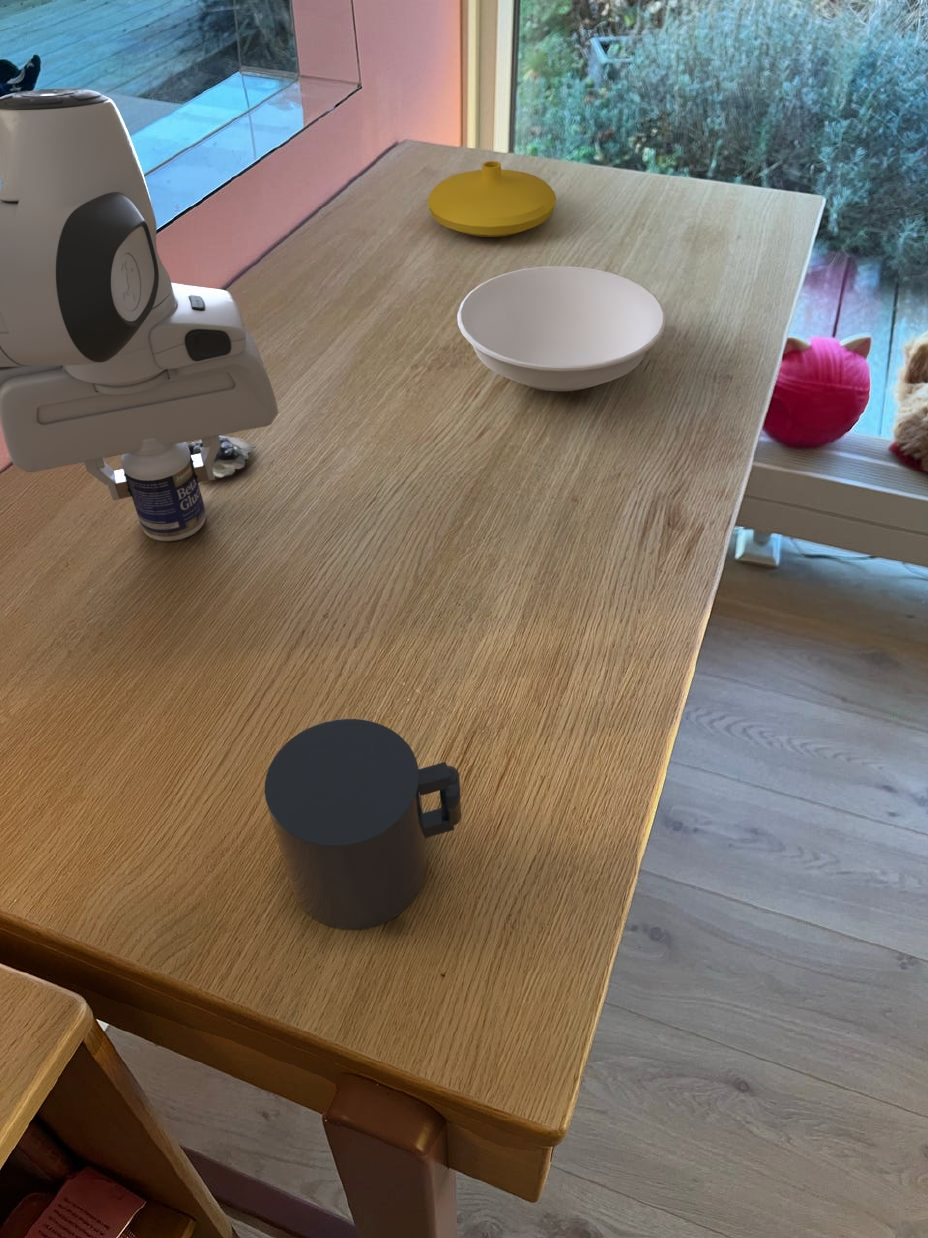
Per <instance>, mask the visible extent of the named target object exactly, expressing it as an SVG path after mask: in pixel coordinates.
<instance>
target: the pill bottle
mask: <svg viewBox="0 0 928 1238" xmlns="http://www.w3.org/2000/svg"><path fill="white" fill-rule="evenodd" d="M142 442H143V446H142V448H141V450H140V451H138V452H133V453H128V454H123V455H121V457H120V459H121V460H120V463H121V467H122V469H123V471H124V474H125V477H126V480H127V483H128V486H129V489H130V492H131V495H132V497H131V499H132V501H133V505H134V508H135V511H136V515H137V518H138V521H139V524H140V526H141V528H142V531H143V532H144V534H145V535H146V536H148V537H149V538H151V539H153V540H155V541H160V542H173V541H180V540H183V539H187V538H188V537H191V536H192V535H194V534H196V533H197V532H198V531H199V530H200V529H202V527H203V526H204V524H205V522H206V518H207V517H206V516H207V514H206V509H205V508H206V507H205V504H204V500H203V496H202V492H201V488H200V483H197V480H196V475H195V472H194V469H193V461H192V457H191V454H190V450H189V448H188V445H187V444H188V443H187V442H183V443H178V444H173V445H168V446H163V445H161V444H160V443H158V442H157V440H156V438H150V439H145V440H143V441H142Z"/></svg>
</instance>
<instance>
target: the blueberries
mask: <svg viewBox="0 0 928 1238" xmlns="http://www.w3.org/2000/svg"><path fill="white" fill-rule="evenodd" d="M219 440H220V444H221V446H220V448H219V450H218V453H217V455H216V457H215V459H214V462H213V464H212V469H213V473H214V477H215V480H219V479H220V480H221V479H222V478H225V477H229V476H232V475H234V473H236V470H241V469H242V468H245V465H246V461H245V460H250V455H248V454H249V453H250V452H253V451H254V450H255V449H256V448H257V447H256V445H255V444H250V443H249V441H246V440H245V439H242V438H240V437H234V436H229V435H219ZM186 444H187V445H188V448H189V450H190V454H191V455H196V454H200V452H201V450H202V447H203V445H202V441H201V439H199V440H197V441H191V443H186Z"/></svg>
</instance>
